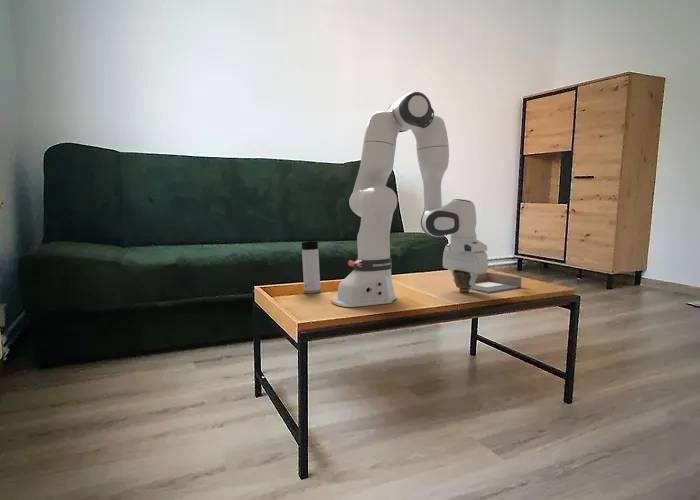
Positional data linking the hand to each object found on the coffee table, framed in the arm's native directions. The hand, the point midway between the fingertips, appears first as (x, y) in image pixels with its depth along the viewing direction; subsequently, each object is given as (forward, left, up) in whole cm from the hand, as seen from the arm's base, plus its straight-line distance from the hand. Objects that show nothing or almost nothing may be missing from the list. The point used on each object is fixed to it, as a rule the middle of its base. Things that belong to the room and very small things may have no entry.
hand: (464, 283), depth 163 cm
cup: (0, 0, -3) cm, 3 cm away
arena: (+13, +2, -3) cm, 14 cm away
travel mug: (-44, +36, -3) cm, 57 cm away
